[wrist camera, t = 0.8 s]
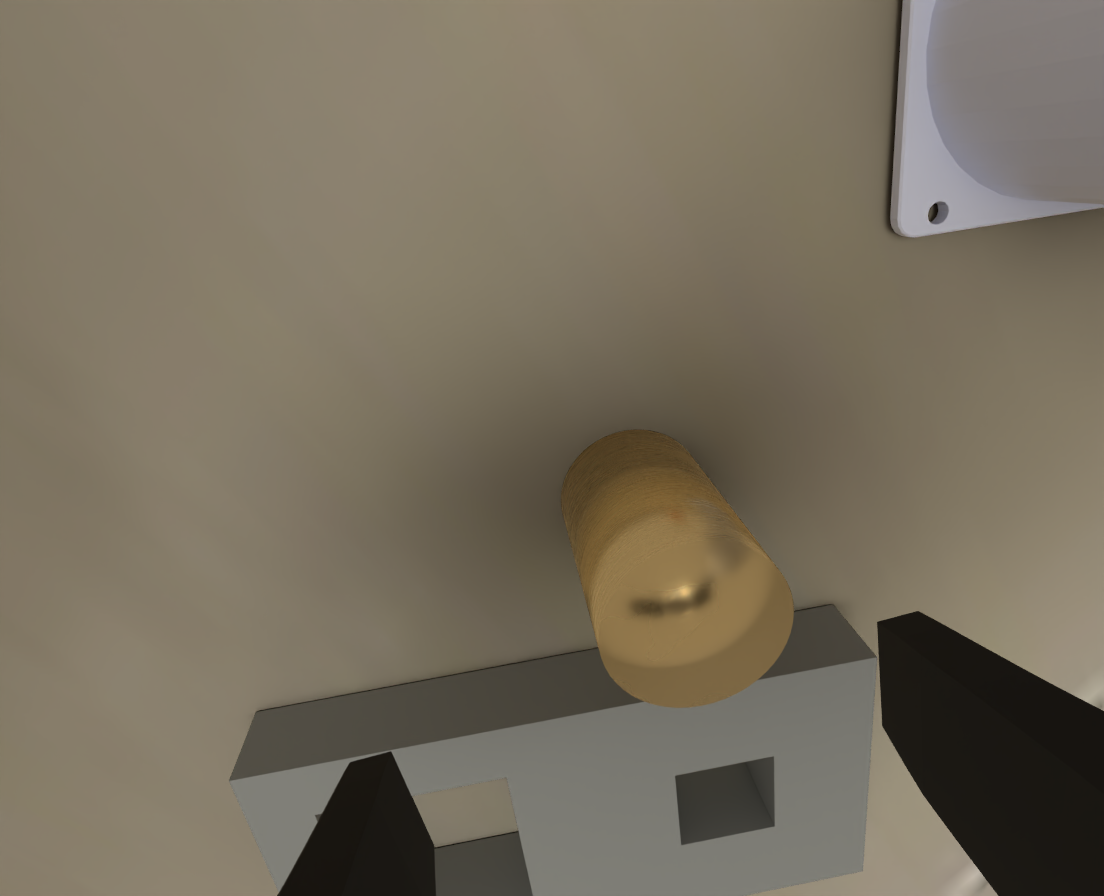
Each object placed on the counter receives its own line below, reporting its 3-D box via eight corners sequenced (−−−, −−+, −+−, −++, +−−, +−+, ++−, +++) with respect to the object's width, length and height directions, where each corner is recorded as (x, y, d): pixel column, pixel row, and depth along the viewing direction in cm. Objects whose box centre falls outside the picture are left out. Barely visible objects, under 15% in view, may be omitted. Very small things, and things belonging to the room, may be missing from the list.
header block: (833, 604, 21) (876, 657, 19) (826, 806, 25) (862, 871, 23) (255, 712, 20) (229, 780, 18) (334, 905, 24) (319, 983, 22)
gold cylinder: (696, 418, 18) (794, 526, 13) (704, 544, 20) (793, 688, 14) (552, 443, 18) (587, 563, 13) (570, 568, 20) (609, 723, 14)
